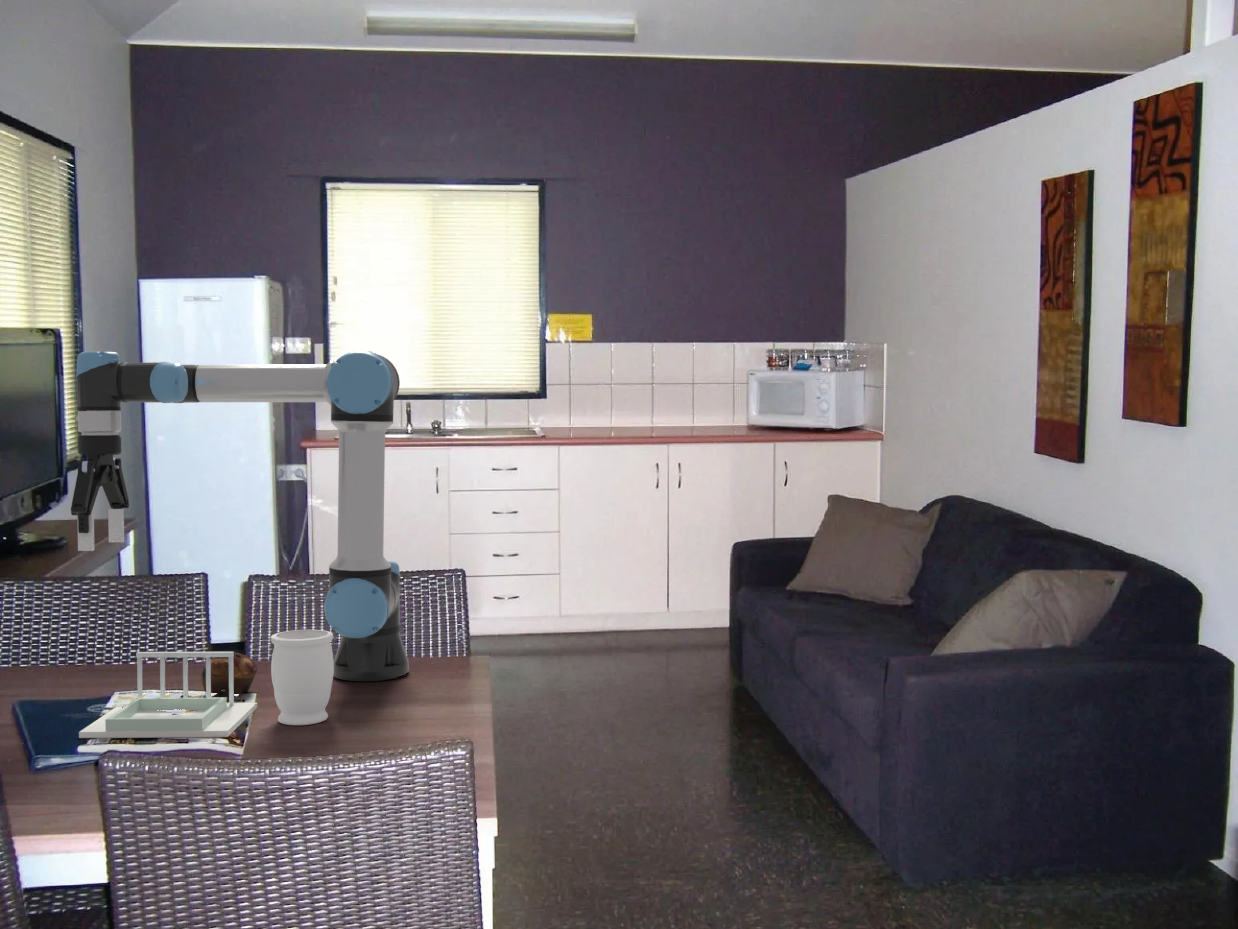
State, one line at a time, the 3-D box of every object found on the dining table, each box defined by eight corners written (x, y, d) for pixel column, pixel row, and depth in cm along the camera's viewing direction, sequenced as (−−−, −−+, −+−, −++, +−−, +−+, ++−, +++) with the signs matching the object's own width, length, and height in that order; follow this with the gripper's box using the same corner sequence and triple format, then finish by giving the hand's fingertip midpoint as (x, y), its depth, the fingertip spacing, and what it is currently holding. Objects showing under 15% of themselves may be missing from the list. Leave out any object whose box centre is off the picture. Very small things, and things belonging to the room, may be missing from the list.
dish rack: (257, 708, 218) (256, 649, 218) (227, 737, 199) (227, 673, 199) (121, 709, 217) (120, 650, 217) (79, 738, 198) (77, 673, 198)
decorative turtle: (192, 704, 221) (190, 660, 221) (215, 690, 236) (213, 649, 236) (246, 700, 222) (244, 657, 222) (265, 687, 237) (263, 646, 237)
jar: (301, 731, 203) (300, 642, 202) (258, 722, 208) (257, 636, 208) (346, 717, 212) (346, 632, 211) (304, 709, 217) (304, 626, 217)
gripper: (107, 432, 240) (109, 539, 241) (48, 435, 216) (51, 554, 217) (145, 432, 240) (147, 539, 242) (91, 435, 216) (93, 554, 217)
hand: (101, 546), depth 229 cm, fingers open, 13 cm apart
